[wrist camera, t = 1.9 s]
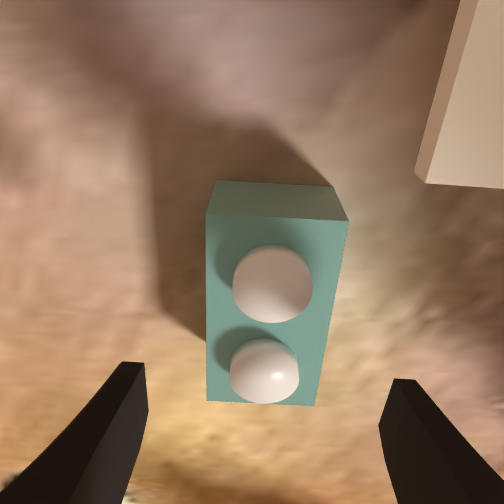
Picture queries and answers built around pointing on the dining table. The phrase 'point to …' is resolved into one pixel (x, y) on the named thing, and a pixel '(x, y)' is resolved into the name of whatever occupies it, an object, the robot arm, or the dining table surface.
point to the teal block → (270, 289)
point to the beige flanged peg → (468, 103)
